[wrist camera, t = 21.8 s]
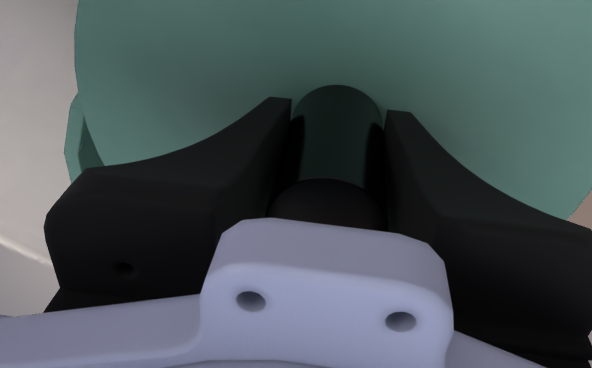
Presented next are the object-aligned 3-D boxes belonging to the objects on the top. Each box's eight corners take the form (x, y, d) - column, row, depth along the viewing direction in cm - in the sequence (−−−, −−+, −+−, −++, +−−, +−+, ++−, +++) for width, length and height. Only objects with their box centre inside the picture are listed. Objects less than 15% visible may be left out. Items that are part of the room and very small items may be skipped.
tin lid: (128, 259, 20) (56, 385, 15) (36, -236, 11) (-200, -289, 6) (514, 310, 19) (561, 461, 14) (752, -187, 10) (1073, -208, 5)
